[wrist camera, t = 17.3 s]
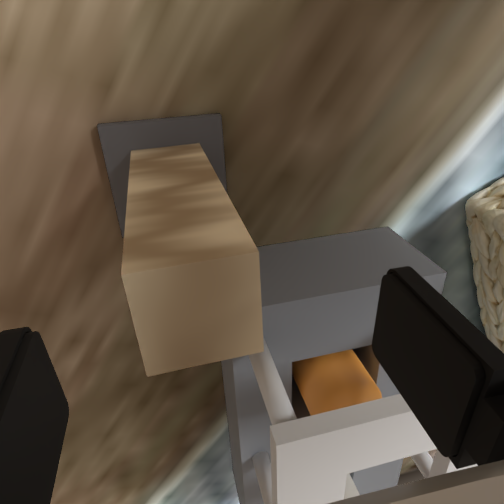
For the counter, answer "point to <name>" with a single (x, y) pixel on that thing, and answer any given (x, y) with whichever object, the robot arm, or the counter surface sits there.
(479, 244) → the storage basket
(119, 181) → the pad
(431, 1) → the counter surface
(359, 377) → the plunger
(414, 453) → the grey housing
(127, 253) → the wooden rectangular block
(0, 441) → the robot arm
